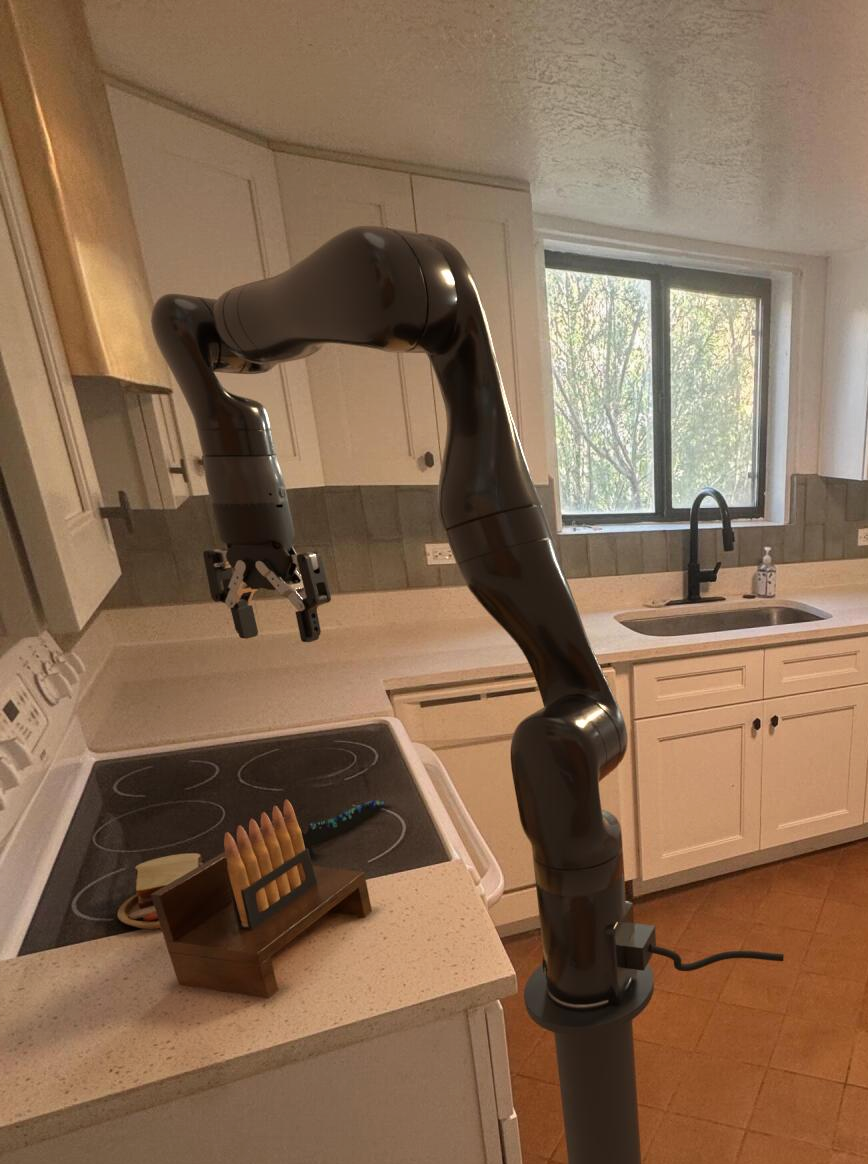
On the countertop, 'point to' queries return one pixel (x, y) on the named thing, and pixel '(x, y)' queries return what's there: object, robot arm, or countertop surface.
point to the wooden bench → (236, 955)
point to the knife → (339, 823)
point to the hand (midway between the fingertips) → (280, 639)
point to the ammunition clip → (267, 867)
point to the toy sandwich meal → (154, 887)
